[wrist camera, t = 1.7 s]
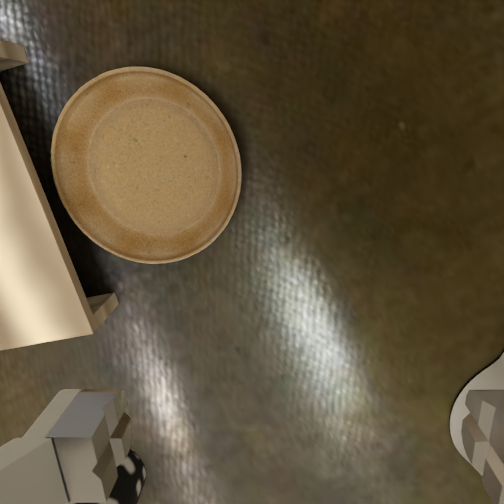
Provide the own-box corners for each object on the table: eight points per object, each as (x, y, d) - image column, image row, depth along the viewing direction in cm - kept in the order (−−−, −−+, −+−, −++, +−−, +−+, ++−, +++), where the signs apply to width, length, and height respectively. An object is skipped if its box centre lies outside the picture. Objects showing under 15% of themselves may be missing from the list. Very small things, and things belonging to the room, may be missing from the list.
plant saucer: (34, 173, 33) (14, 177, 31) (137, 25, 29) (123, 16, 27) (169, 285, 36) (161, 297, 33) (282, 163, 32) (282, 167, 29)
